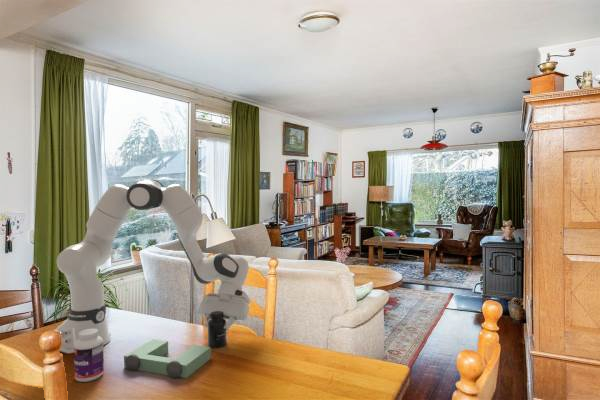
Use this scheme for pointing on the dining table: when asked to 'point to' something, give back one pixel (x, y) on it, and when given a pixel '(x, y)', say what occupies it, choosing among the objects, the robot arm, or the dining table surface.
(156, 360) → the green u-shaped block
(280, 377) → the dining table surface
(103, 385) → the dining table surface
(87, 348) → the pill bottle
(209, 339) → the supplement bottle
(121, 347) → the dining table surface
